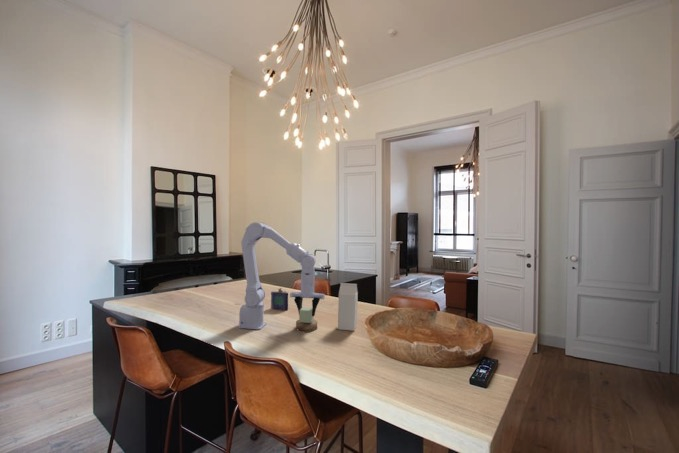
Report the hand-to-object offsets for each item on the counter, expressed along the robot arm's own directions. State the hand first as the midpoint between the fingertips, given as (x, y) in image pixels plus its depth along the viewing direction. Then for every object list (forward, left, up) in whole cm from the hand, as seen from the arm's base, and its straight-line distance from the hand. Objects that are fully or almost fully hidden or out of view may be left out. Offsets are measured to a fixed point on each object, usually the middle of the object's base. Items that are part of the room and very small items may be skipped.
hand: (306, 315), depth 131 cm
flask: (-20, +24, -6) cm, 32 cm away
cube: (0, 0, -2) cm, 2 cm away
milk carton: (+17, +4, -6) cm, 18 cm away
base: (0, 0, -5) cm, 5 cm away
